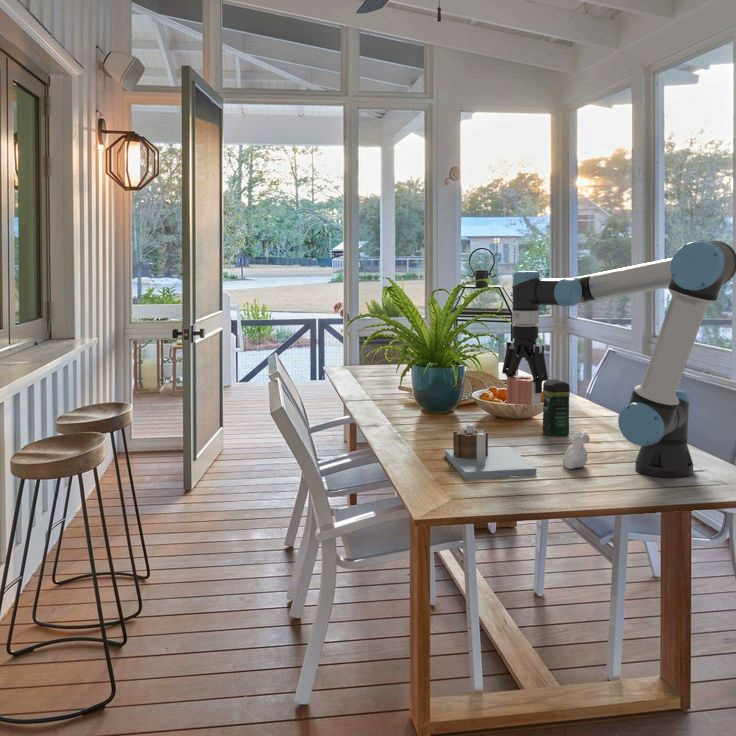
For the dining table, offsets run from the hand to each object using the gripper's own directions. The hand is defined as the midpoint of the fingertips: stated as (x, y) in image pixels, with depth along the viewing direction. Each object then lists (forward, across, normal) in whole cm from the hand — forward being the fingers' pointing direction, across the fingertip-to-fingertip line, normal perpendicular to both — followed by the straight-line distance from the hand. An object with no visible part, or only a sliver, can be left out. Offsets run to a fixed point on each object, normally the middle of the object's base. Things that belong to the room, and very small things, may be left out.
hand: (523, 401), depth 231 cm
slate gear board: (+18, -2, -11) cm, 21 cm away
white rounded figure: (+18, +13, +9) cm, 24 cm away
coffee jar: (+18, -22, +33) cm, 43 cm away
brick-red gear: (0, 0, 0) cm, 0 cm away
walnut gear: (+16, -8, -13) cm, 22 cm away
